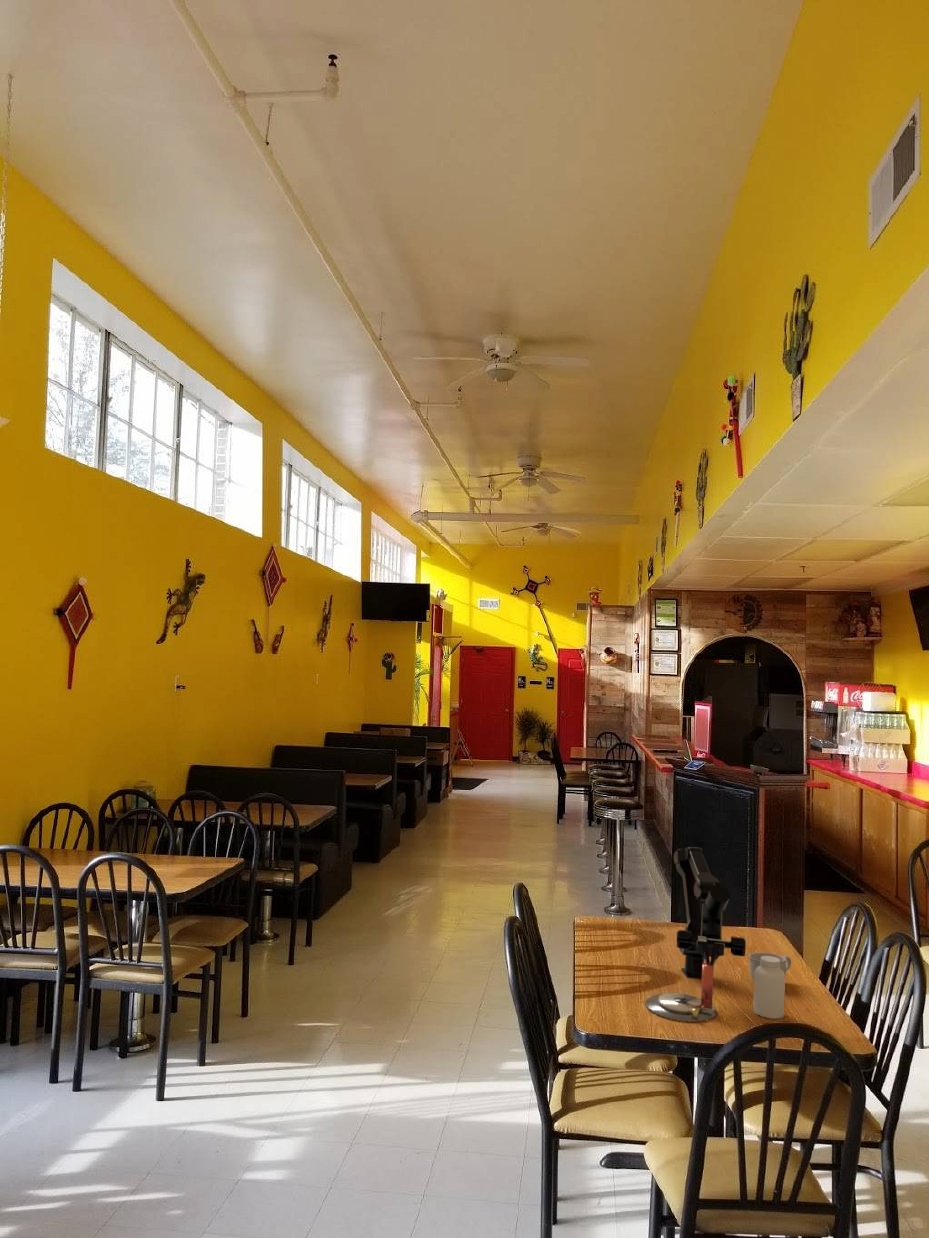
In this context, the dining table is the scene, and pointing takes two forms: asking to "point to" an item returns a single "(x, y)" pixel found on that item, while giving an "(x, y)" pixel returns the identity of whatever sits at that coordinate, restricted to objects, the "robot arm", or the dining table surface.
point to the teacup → (756, 956)
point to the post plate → (658, 1010)
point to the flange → (687, 1002)
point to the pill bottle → (769, 988)
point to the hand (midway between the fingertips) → (709, 970)
